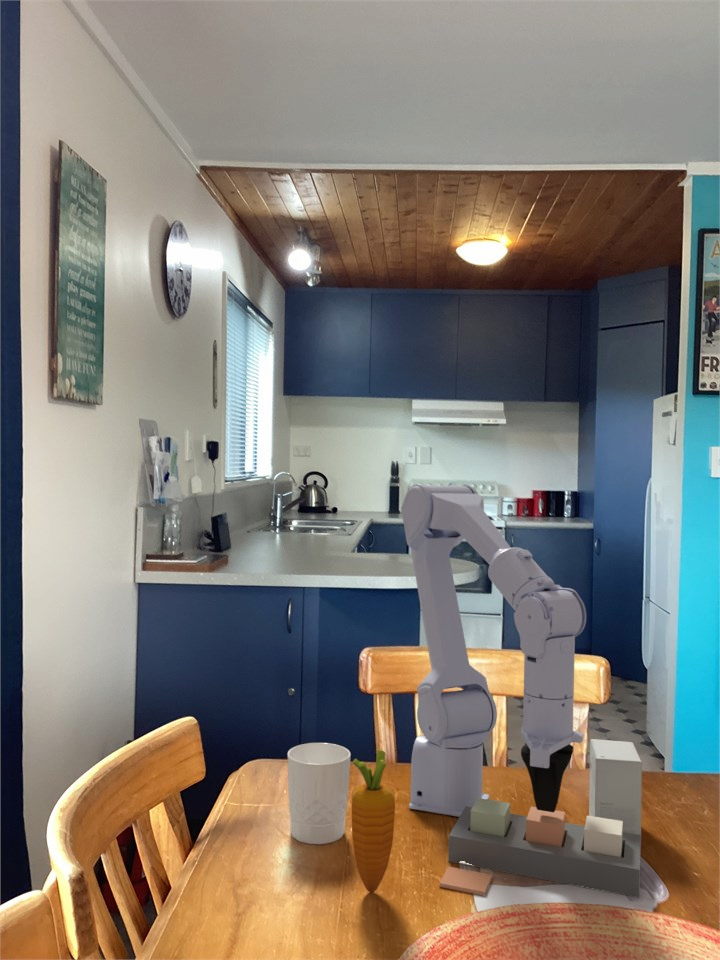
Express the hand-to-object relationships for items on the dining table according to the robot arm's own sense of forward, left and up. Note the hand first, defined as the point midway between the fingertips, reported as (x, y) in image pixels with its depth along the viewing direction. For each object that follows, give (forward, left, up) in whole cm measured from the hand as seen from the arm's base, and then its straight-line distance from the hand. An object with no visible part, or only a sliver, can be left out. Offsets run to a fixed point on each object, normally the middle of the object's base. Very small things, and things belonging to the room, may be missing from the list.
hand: (546, 808), depth 93 cm
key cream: (+7, 0, -4) cm, 8 cm away
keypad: (0, 0, -6) cm, 6 cm away
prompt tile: (-8, -8, -6) cm, 13 cm away
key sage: (-7, 0, -4) cm, 8 cm away
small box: (+7, +12, -6) cm, 15 cm away
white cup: (-28, -3, -6) cm, 28 cm away
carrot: (-17, -14, -6) cm, 23 cm away
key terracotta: (0, 0, -4) cm, 4 cm away
